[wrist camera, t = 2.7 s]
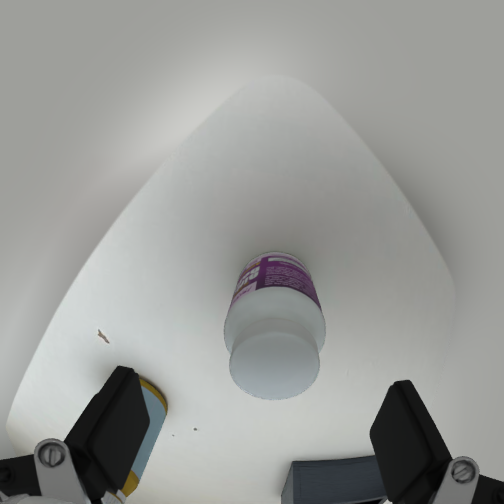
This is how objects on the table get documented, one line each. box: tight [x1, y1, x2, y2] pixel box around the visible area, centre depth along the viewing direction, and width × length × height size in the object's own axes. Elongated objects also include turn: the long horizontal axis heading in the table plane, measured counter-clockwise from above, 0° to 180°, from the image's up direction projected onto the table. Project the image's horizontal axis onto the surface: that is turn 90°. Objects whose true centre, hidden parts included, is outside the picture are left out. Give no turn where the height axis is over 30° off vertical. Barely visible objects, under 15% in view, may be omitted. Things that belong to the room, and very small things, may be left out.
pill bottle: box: [224, 252, 326, 400], centre depth 16 cm, size 5×5×10 cm
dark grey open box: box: [281, 455, 388, 504], centre depth 25 cm, size 12×12×7 cm
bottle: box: [103, 378, 167, 504], centre depth 18 cm, size 7×7×15 cm
